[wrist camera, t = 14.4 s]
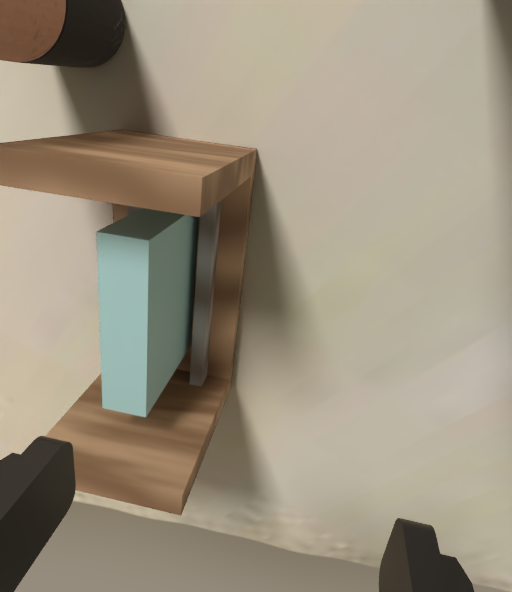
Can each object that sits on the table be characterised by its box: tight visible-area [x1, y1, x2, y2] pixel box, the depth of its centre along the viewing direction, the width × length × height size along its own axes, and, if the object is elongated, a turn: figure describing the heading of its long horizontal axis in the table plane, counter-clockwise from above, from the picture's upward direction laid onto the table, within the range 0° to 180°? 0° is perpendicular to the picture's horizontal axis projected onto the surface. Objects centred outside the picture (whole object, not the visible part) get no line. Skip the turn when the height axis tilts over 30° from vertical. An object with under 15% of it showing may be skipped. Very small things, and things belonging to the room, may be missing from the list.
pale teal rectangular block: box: [96, 208, 199, 417], centre depth 36 cm, size 14×4×11 cm, turn 173°
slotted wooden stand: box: [0, 130, 257, 515], centre depth 35 cm, size 24×12×16 cm, turn 173°
